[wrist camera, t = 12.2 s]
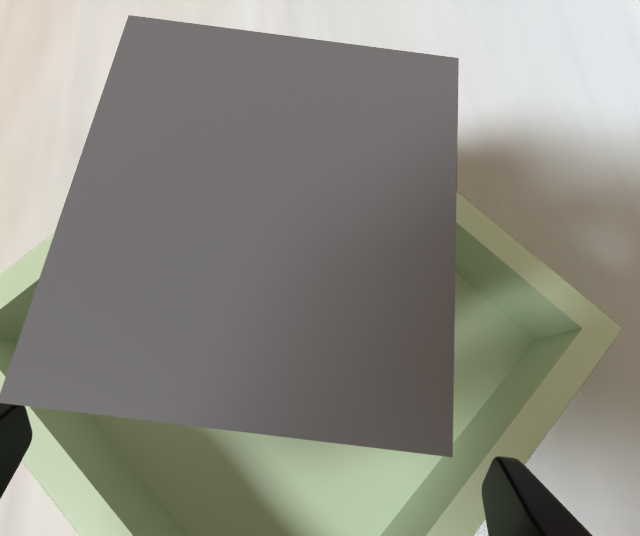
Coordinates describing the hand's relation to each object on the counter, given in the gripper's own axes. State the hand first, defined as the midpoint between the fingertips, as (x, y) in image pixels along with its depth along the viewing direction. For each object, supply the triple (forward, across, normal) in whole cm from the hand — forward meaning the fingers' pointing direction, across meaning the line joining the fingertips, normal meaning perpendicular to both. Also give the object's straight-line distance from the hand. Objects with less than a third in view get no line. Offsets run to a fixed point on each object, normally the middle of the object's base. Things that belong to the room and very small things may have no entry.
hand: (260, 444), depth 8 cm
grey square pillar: (+8, 0, +3) cm, 8 cm away
